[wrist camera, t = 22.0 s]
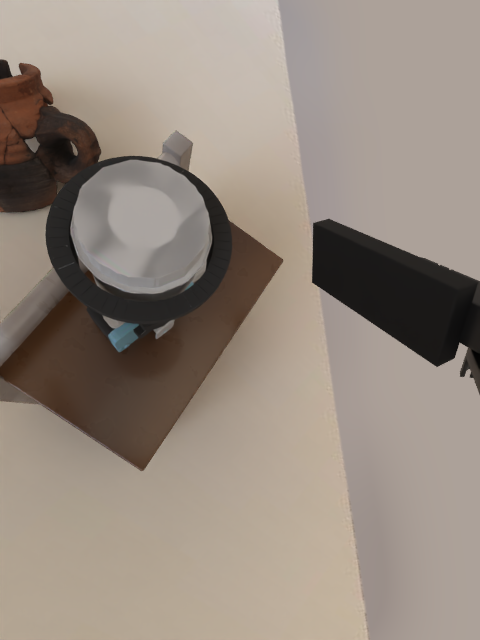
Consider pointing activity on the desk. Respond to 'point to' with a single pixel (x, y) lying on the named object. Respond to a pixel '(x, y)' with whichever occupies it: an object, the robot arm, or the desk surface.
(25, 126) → the pottery mug
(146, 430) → the box
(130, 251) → the push button
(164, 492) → the desk surface
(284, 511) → the desk surface
